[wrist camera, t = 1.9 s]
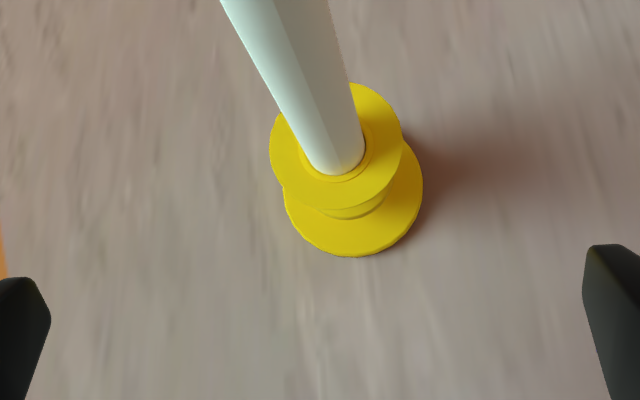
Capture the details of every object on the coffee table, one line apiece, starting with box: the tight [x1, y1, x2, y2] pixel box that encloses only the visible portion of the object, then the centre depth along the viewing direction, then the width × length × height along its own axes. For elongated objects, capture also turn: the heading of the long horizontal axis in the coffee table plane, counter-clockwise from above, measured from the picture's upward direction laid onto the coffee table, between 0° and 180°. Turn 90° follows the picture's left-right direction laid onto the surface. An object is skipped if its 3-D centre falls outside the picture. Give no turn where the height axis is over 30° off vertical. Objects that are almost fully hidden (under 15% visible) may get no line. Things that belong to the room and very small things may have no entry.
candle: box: [220, 0, 423, 258], centre depth 14 cm, size 5×5×16 cm
